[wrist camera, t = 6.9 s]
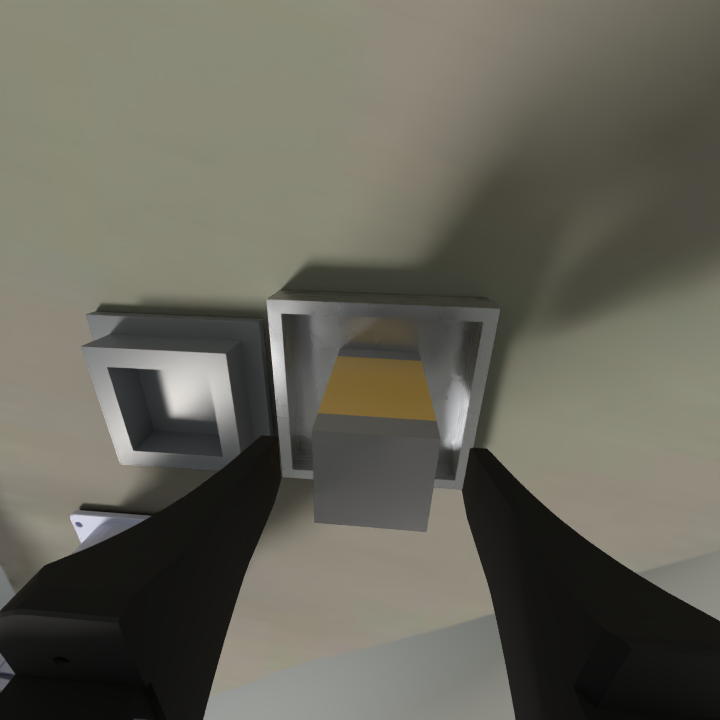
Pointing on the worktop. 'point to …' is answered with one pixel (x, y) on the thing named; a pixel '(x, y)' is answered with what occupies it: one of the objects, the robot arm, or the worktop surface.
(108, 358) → the socket block
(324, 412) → the block
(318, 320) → the parts tray
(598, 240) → the worktop surface
